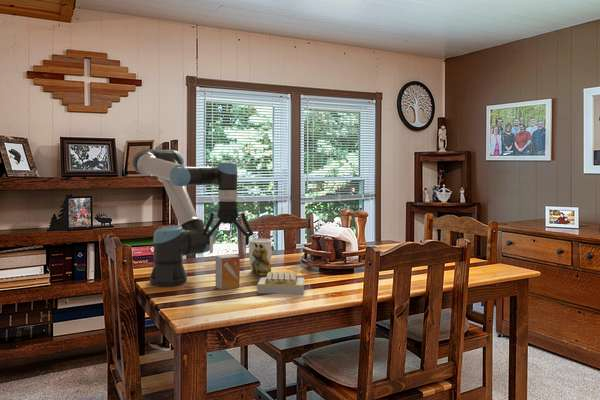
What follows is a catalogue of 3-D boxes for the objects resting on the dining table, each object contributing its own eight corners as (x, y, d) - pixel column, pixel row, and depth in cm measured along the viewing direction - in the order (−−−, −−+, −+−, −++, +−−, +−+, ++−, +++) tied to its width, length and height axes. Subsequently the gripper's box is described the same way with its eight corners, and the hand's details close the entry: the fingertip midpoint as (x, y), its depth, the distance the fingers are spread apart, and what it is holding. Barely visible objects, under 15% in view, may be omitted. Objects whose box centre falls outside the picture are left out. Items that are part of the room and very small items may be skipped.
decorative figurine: (248, 275, 223) (248, 242, 222) (263, 273, 229) (263, 241, 228) (260, 280, 216) (261, 245, 215) (276, 277, 221) (276, 243, 220)
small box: (221, 290, 198) (221, 258, 197) (215, 286, 203) (215, 255, 202) (240, 287, 202) (240, 256, 201) (233, 284, 208) (233, 253, 207)
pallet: (265, 285, 195) (265, 278, 195) (267, 277, 207) (268, 272, 207) (295, 285, 195) (295, 279, 195) (296, 278, 207) (296, 272, 207)
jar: (245, 273, 229) (245, 240, 228) (252, 268, 239) (253, 237, 238) (267, 274, 226) (267, 242, 225) (274, 269, 236) (274, 238, 235)
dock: (257, 293, 194) (257, 284, 194) (260, 284, 208) (261, 275, 208) (303, 294, 194) (303, 285, 194) (304, 285, 208) (304, 276, 208)
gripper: (194, 200, 197) (195, 254, 198) (257, 201, 196) (257, 254, 197) (199, 199, 204) (199, 251, 206) (259, 200, 203) (259, 251, 205)
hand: (228, 253), depth 202 cm, fingers open, 13 cm apart
